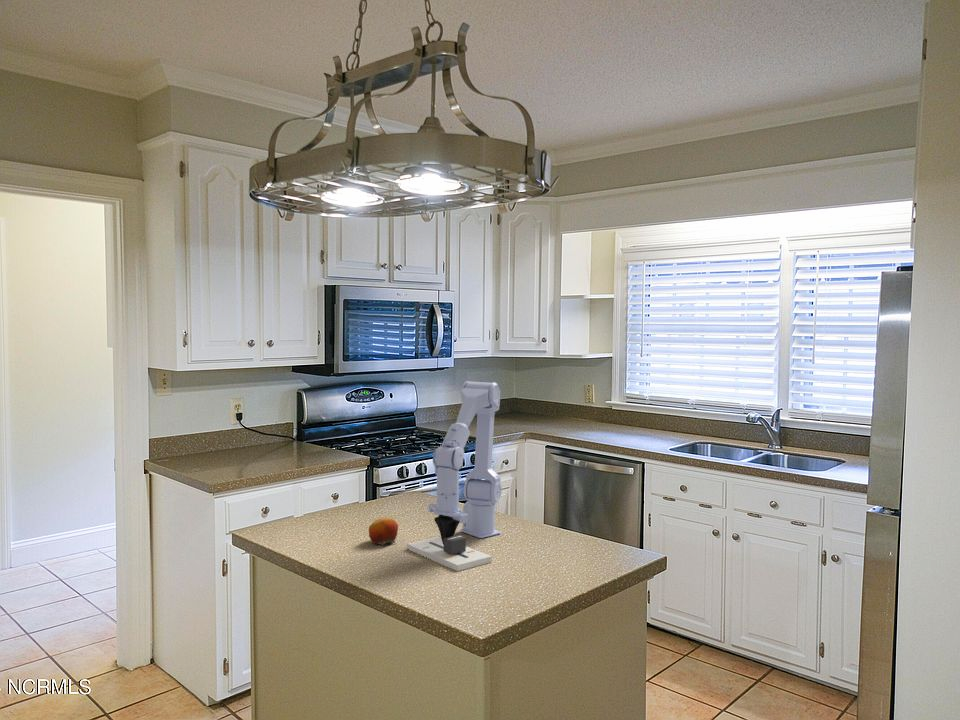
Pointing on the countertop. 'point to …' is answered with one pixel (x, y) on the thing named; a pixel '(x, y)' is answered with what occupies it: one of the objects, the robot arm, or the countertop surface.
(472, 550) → the fader console
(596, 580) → the countertop surface
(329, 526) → the countertop surface
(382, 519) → the fruit
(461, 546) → the fader knob
